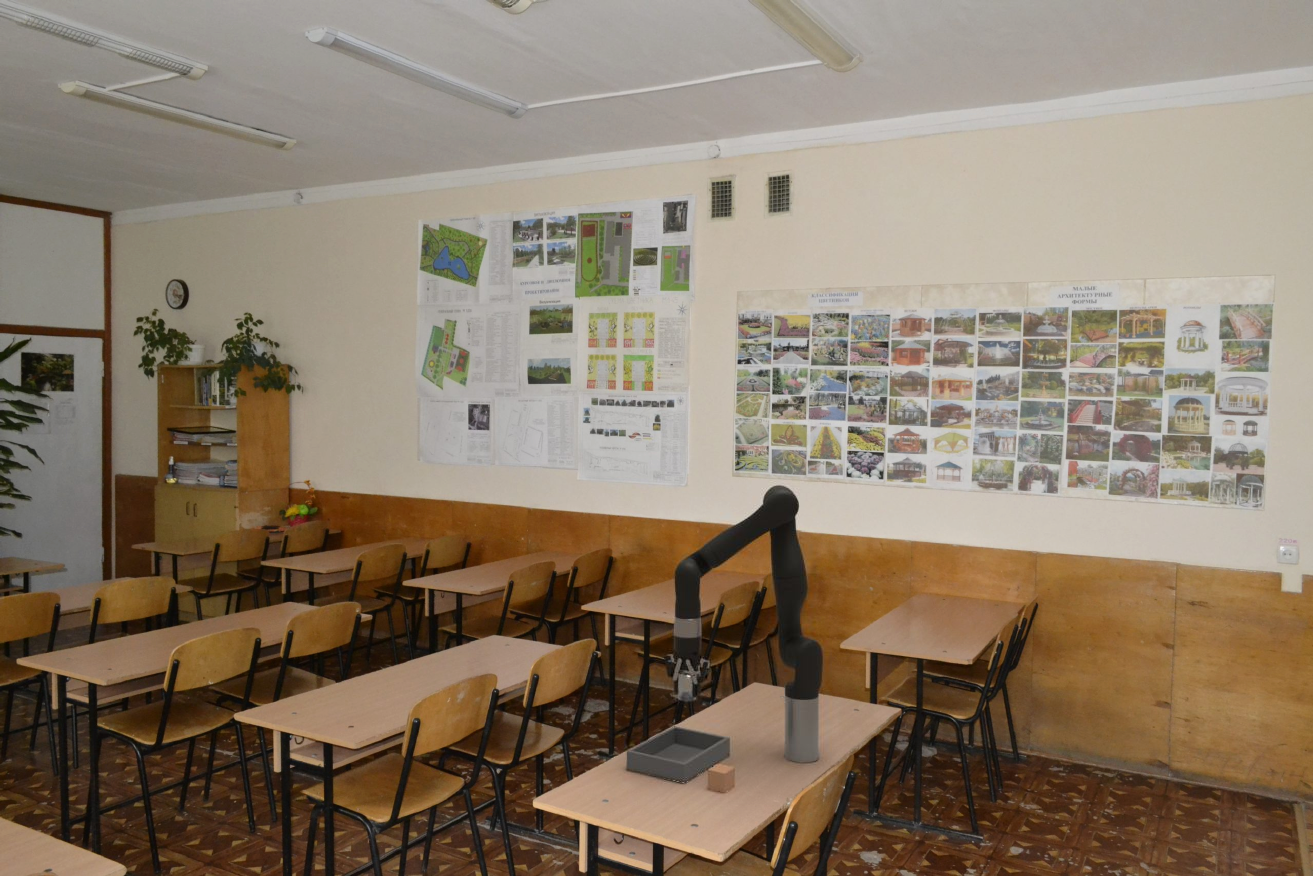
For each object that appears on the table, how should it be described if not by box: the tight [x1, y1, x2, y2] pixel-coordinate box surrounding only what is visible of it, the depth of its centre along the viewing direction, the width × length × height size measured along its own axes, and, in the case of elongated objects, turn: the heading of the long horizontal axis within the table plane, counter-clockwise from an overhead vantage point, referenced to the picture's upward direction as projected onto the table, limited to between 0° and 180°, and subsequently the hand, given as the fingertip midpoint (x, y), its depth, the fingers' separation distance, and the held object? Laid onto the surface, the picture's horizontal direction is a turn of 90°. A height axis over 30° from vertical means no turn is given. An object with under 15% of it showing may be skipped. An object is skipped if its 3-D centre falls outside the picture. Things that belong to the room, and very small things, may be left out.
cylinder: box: [677, 670, 697, 702], centre depth 258 cm, size 5×5×7 cm
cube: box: [707, 763, 736, 794], centre depth 239 cm, size 5×5×5 cm
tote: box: [626, 725, 731, 784], centre depth 256 cm, size 24×18×5 cm
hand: (687, 695), depth 258 cm, fingers closed on cylinder, 5 cm apart
